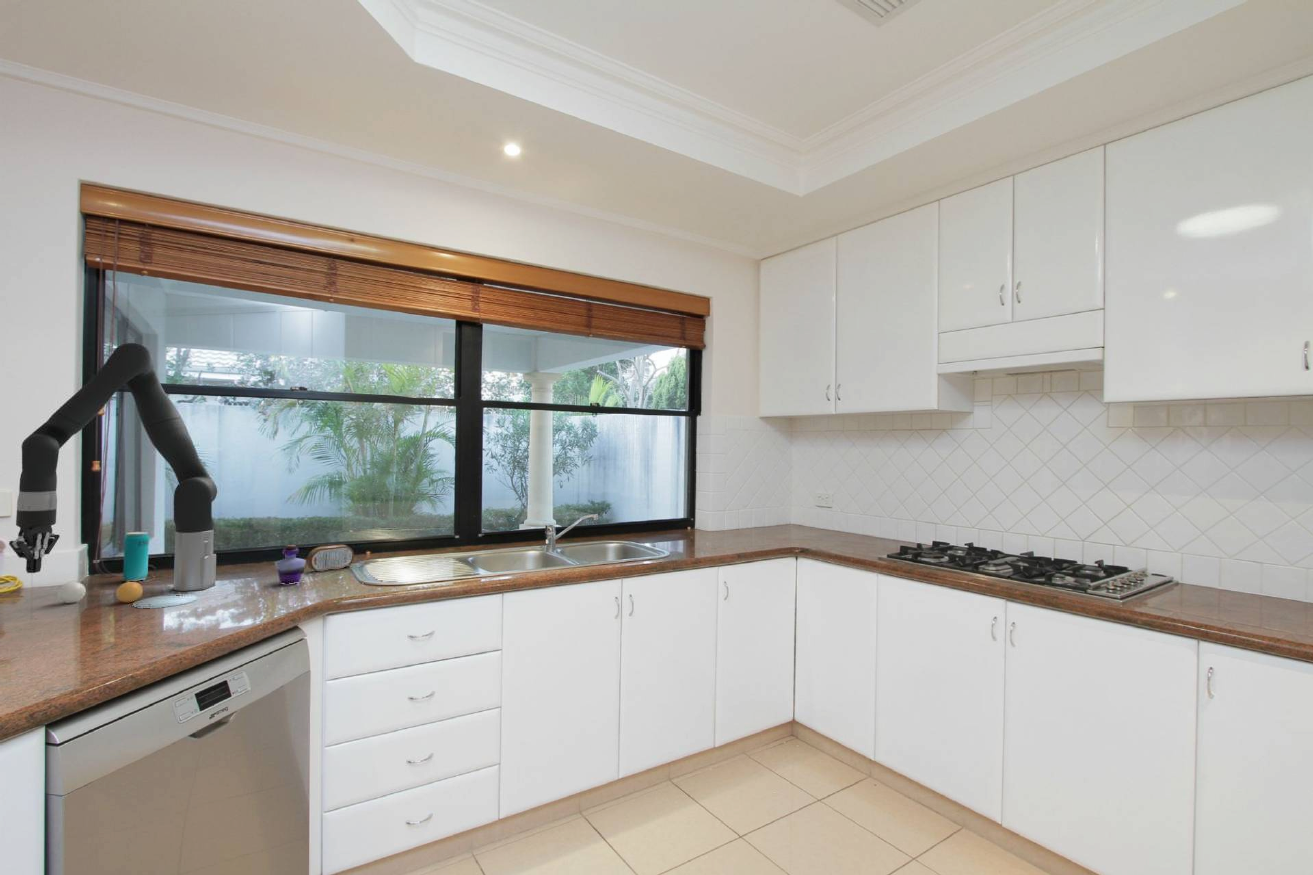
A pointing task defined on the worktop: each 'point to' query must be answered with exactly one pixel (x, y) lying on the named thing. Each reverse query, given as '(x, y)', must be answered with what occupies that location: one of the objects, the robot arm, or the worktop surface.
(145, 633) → the worktop surface
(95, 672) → the worktop surface
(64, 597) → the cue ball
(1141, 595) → the worktop surface
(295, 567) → the potion bottle
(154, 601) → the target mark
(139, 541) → the beverage can
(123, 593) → the orange ball
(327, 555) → the tin
